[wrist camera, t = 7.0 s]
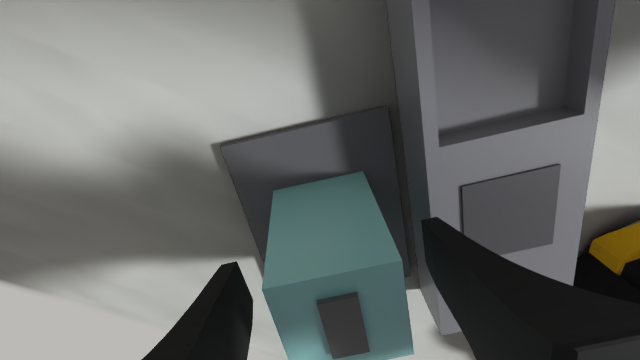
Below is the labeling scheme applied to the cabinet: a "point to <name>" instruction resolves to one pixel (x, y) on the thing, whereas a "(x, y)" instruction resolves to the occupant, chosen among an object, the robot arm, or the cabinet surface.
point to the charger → (335, 274)
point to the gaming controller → (612, 265)
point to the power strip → (500, 124)
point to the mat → (318, 167)
